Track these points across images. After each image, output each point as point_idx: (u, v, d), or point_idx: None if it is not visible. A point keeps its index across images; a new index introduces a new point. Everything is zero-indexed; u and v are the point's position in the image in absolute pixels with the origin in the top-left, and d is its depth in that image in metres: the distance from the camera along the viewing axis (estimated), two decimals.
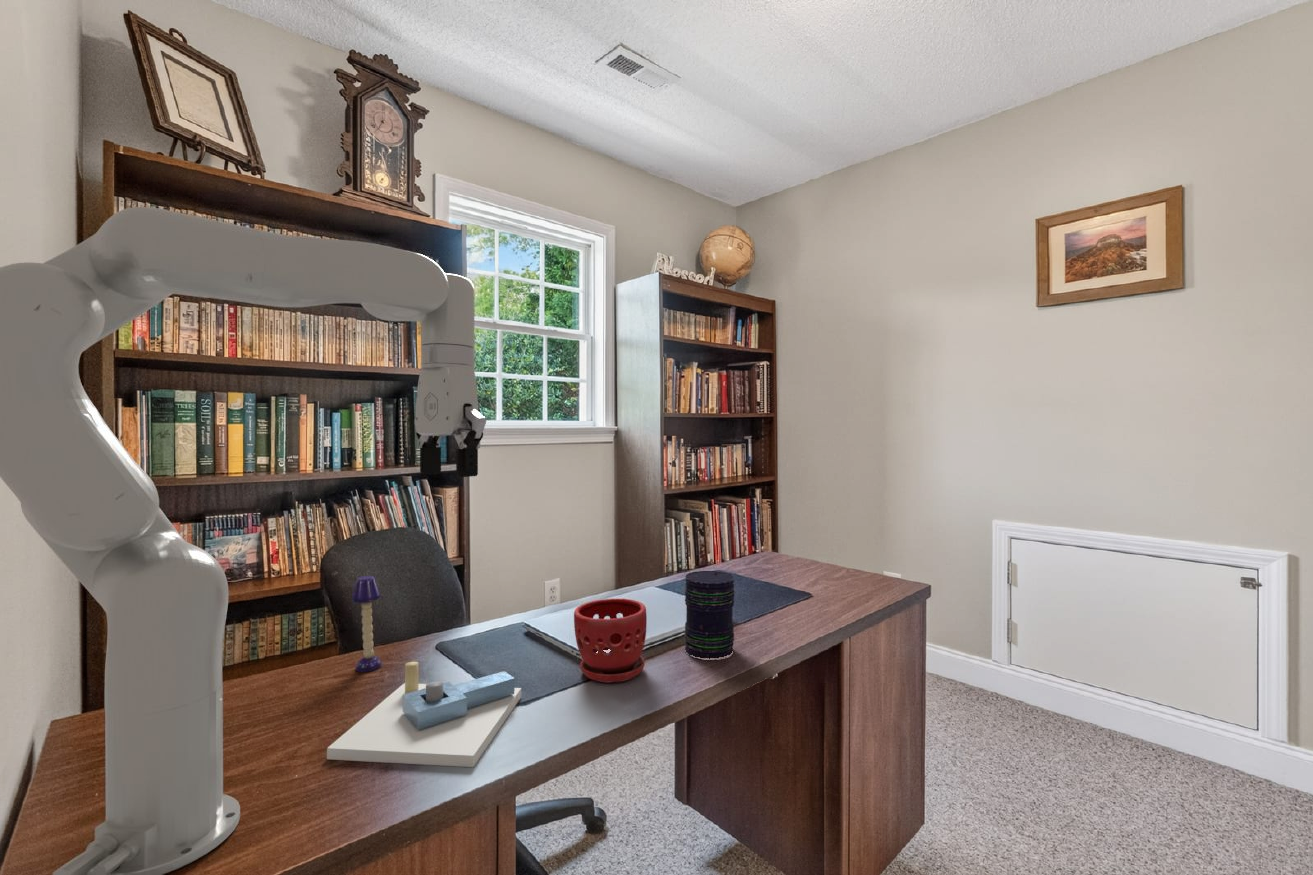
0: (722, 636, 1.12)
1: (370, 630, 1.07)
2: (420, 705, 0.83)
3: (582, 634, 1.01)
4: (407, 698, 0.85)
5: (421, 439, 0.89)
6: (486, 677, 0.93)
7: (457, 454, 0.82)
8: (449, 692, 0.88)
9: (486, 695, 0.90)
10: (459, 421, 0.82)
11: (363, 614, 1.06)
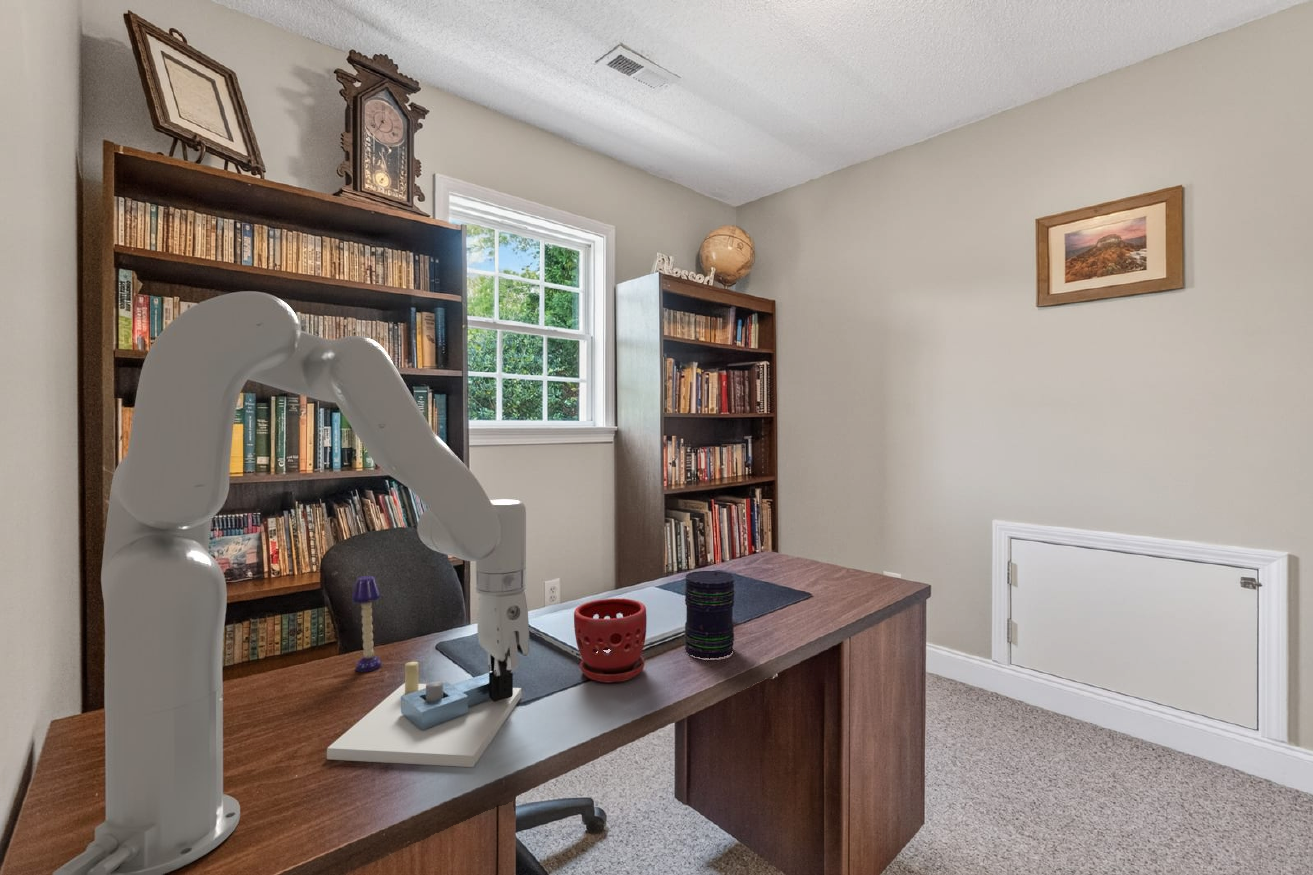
0: (722, 636, 1.12)
1: (370, 630, 1.07)
2: (422, 705, 0.83)
3: (582, 634, 1.01)
4: (407, 699, 0.85)
5: None
6: (482, 675, 0.94)
7: None
8: (448, 691, 0.88)
9: (485, 693, 0.90)
10: None
11: (363, 614, 1.06)
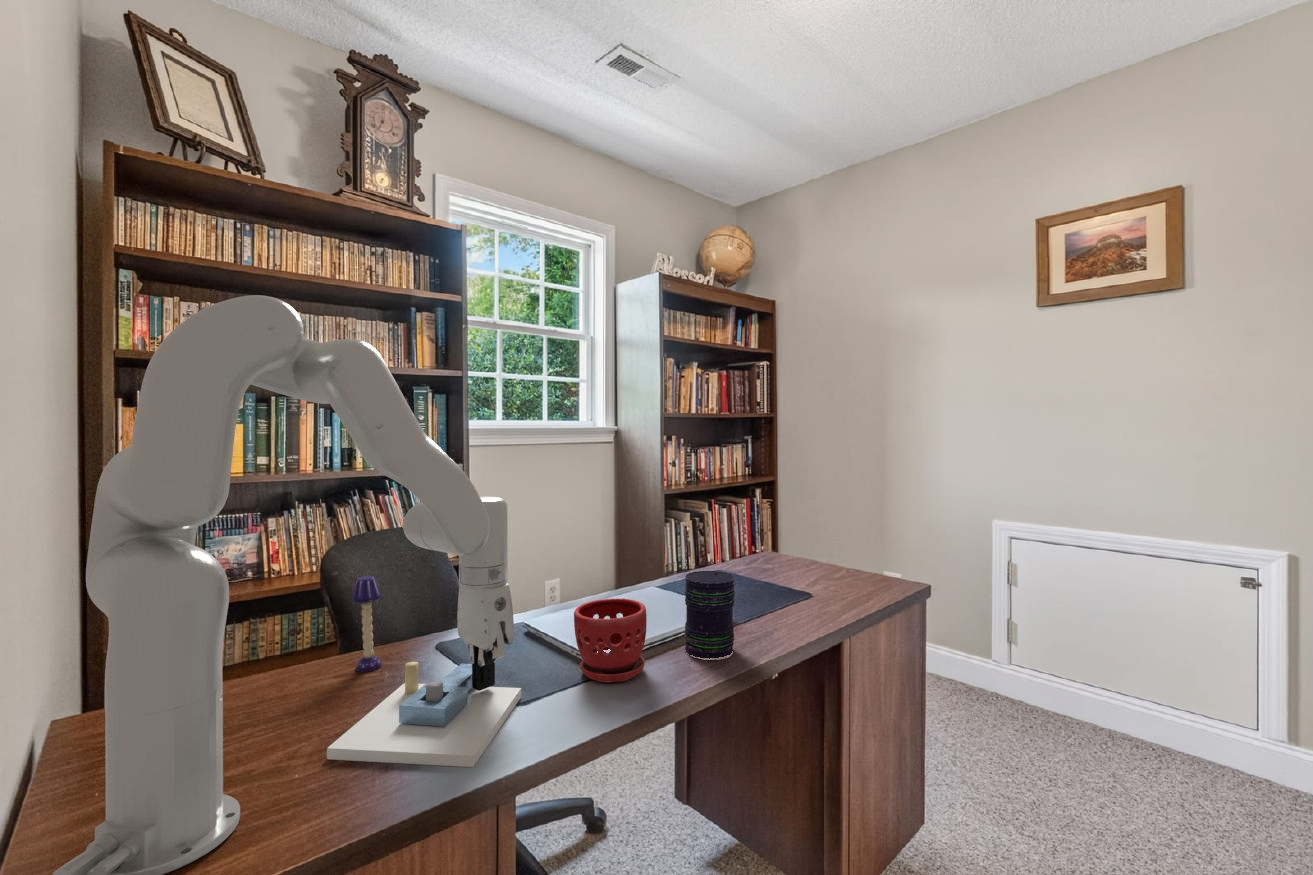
0: (722, 636, 1.12)
1: (370, 630, 1.07)
2: (436, 705, 0.83)
3: (582, 634, 1.01)
4: (410, 705, 0.83)
5: None
6: (454, 671, 0.95)
7: None
8: None
9: (468, 685, 0.93)
10: None
11: (363, 614, 1.06)
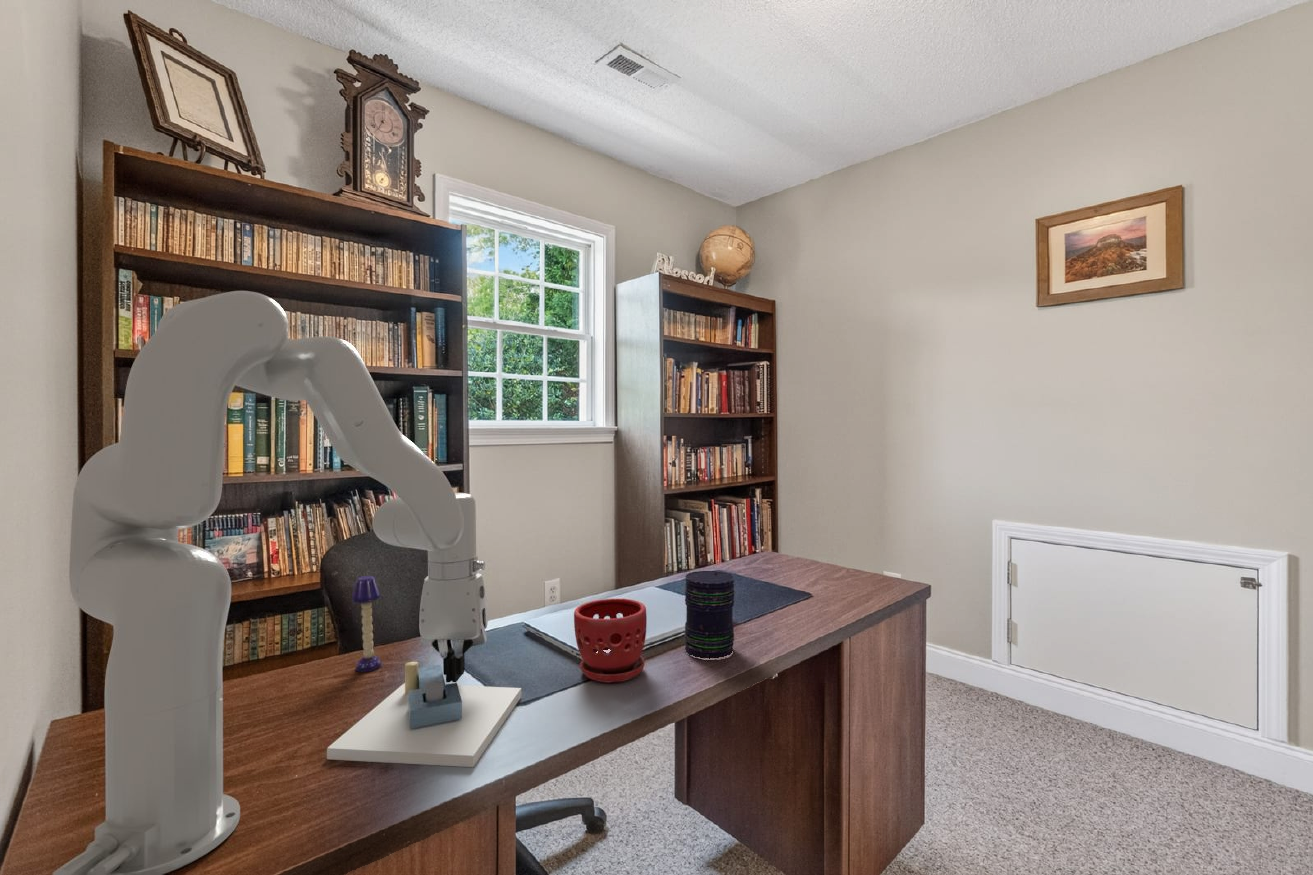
0: (722, 636, 1.12)
1: (370, 630, 1.07)
2: (448, 701, 0.85)
3: (582, 634, 1.01)
4: (422, 708, 0.83)
5: None
6: (420, 675, 0.94)
7: None
8: None
9: None
10: None
11: (363, 614, 1.06)
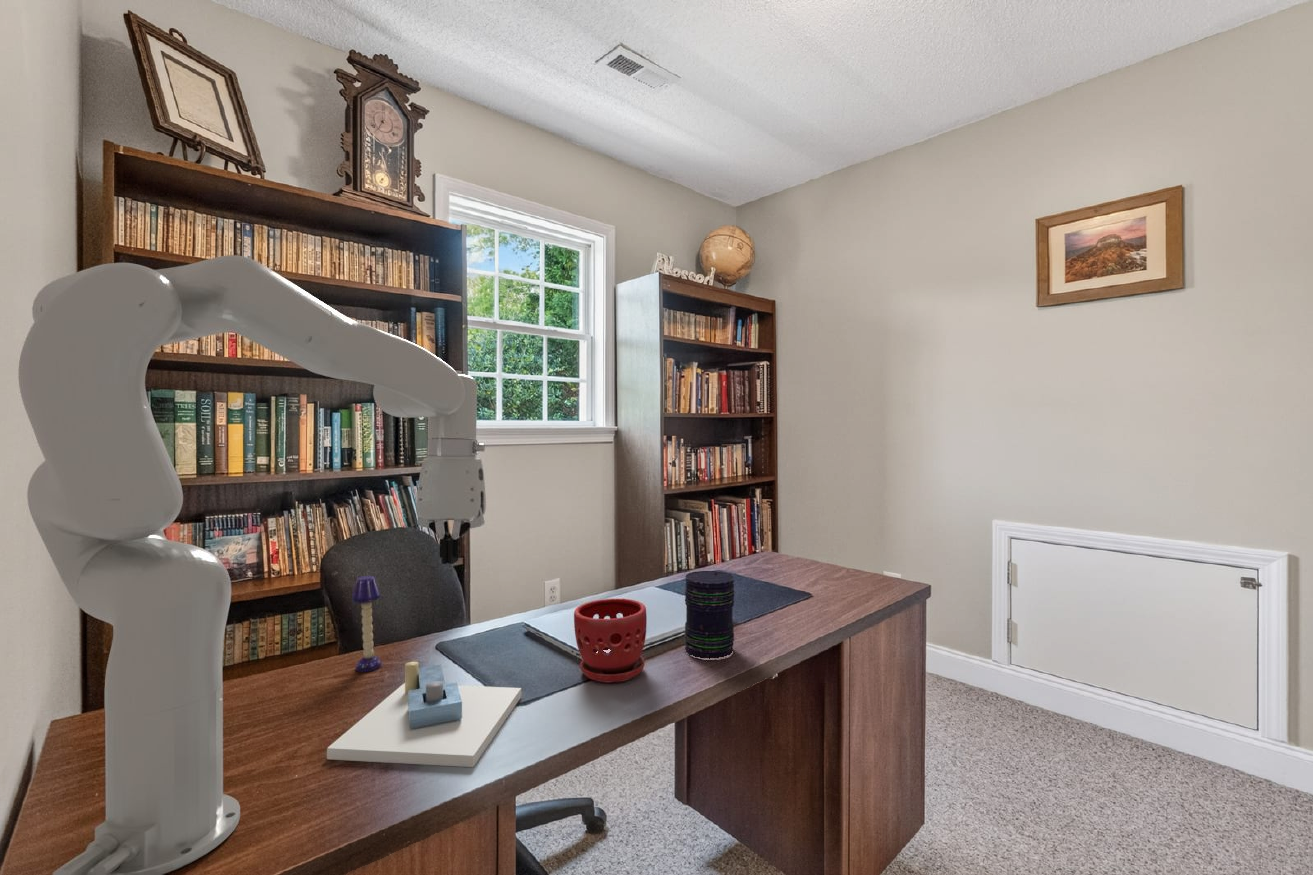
0: (722, 636, 1.12)
1: (370, 630, 1.07)
2: (448, 701, 0.85)
3: (582, 634, 1.01)
4: (422, 708, 0.83)
5: None
6: (420, 675, 0.94)
7: None
8: None
9: None
10: None
11: (363, 614, 1.06)
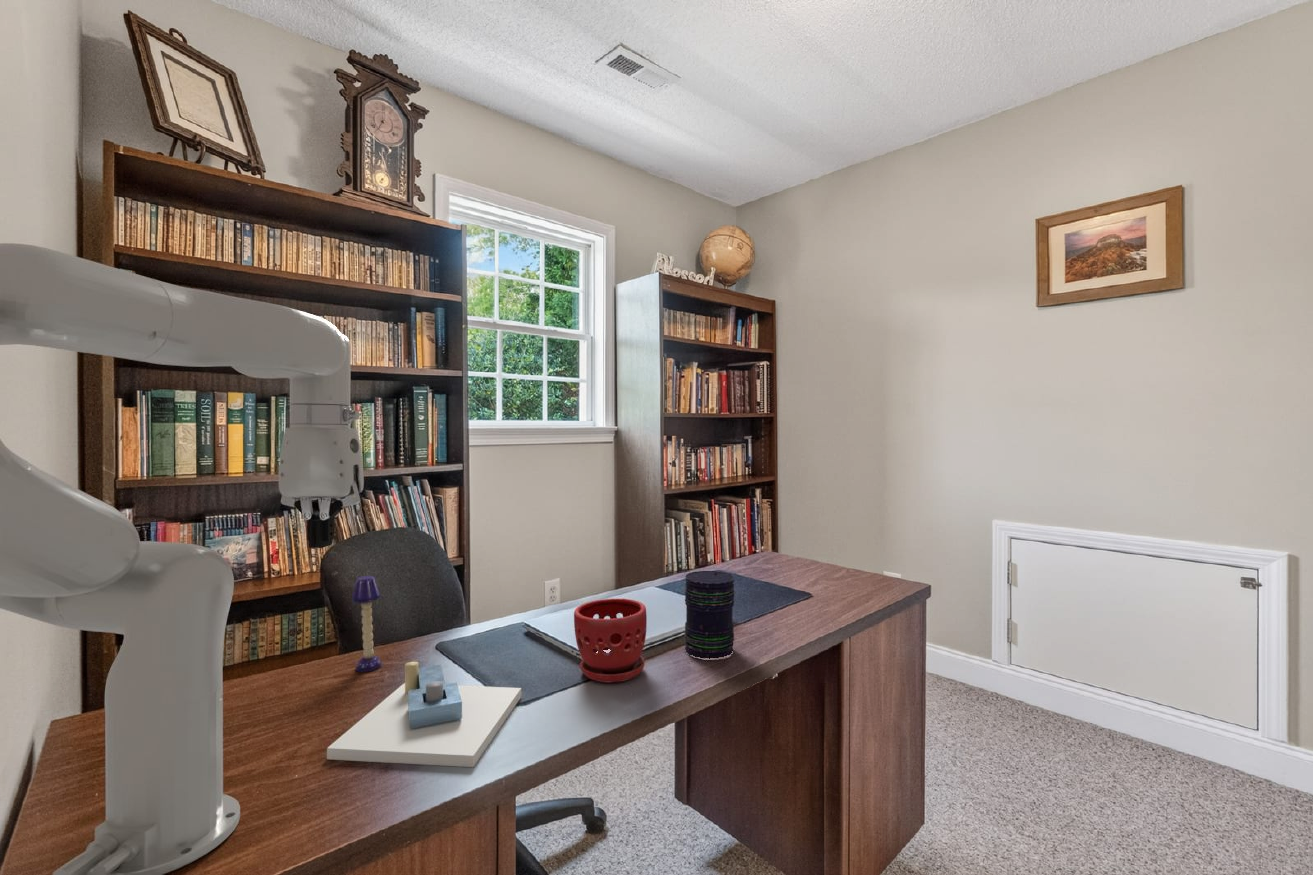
0: (722, 636, 1.12)
1: (370, 630, 1.07)
2: (448, 701, 0.85)
3: (582, 634, 1.01)
4: (422, 708, 0.83)
5: None
6: (420, 675, 0.94)
7: None
8: None
9: None
10: None
11: (363, 614, 1.06)
